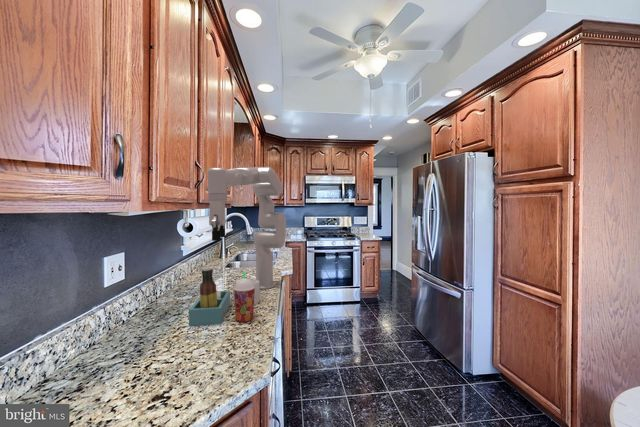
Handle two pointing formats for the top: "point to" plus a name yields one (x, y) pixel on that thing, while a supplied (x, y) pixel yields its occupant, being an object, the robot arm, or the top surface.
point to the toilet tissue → (257, 290)
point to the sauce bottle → (208, 290)
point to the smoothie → (244, 299)
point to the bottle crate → (209, 311)
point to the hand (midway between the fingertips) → (218, 238)
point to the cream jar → (218, 295)
